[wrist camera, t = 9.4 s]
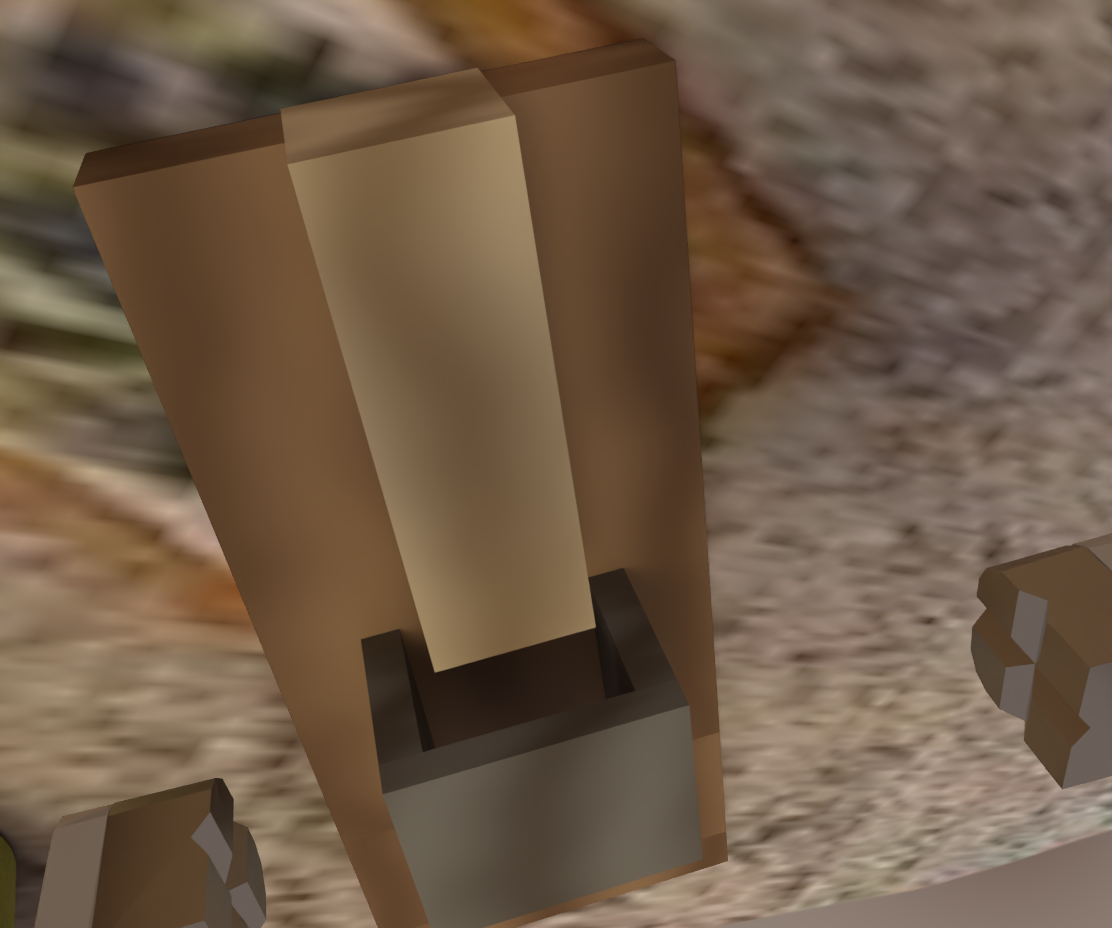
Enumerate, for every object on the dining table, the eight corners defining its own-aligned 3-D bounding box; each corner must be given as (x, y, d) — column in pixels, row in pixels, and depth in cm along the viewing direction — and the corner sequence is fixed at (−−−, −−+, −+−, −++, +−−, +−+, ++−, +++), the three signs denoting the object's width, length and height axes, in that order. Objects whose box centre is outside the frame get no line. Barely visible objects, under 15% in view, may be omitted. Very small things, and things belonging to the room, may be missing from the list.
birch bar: (477, 67, 24) (514, 115, 21) (559, 540, 32) (596, 627, 29) (280, 109, 23) (287, 164, 20) (414, 579, 31) (435, 672, 28)
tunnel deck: (642, 38, 27) (781, 132, 20) (706, 811, 45) (789, 999, 39) (85, 153, 25) (29, 299, 18) (386, 909, 44) (414, 1124, 37)
